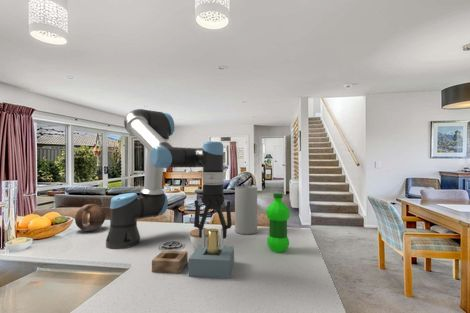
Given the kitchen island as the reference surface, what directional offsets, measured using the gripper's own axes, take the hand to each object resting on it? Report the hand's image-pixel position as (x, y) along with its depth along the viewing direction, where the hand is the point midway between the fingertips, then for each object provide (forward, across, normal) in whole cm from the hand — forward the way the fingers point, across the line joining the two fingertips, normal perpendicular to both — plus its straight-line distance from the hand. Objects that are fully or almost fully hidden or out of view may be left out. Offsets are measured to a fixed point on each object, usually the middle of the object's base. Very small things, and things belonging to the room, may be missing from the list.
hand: (212, 246), depth 91 cm
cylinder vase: (+8, +9, +50) cm, 51 cm away
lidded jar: (+8, -9, +20) cm, 23 cm away
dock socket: (+8, 0, 0) cm, 8 cm away
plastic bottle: (+8, +25, +22) cm, 34 cm away
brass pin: (+8, 0, 0) cm, 8 cm away
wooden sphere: (+8, -79, +42) cm, 90 cm away
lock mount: (+8, -16, 0) cm, 18 cm away
